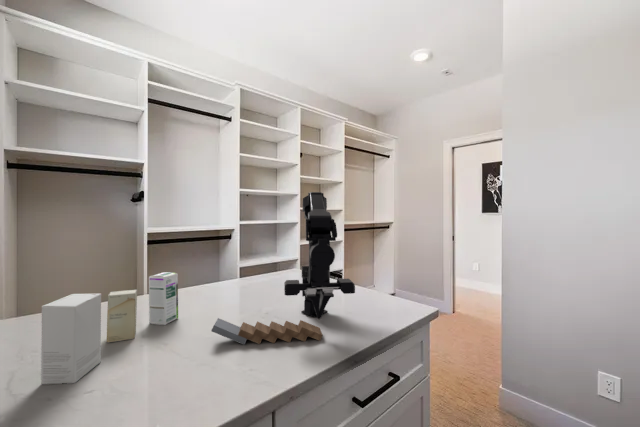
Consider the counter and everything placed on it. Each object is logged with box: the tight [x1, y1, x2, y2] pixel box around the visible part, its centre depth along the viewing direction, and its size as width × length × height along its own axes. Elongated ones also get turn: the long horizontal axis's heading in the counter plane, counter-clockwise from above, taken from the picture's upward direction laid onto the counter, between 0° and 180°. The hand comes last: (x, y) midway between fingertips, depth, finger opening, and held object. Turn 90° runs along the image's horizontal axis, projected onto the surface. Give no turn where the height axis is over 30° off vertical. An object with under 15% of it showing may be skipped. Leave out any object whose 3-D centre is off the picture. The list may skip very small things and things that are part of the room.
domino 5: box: [297, 319, 323, 342], centre depth 78 cm, size 2×5×6 cm
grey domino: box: [211, 317, 248, 345], centre depth 75 cm, size 2×5×9 cm
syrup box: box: [148, 271, 179, 326], centre depth 89 cm, size 6×6×14 cm
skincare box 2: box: [106, 289, 138, 343], centre depth 77 cm, size 6×4×12 cm
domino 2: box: [253, 321, 278, 344], centre depth 76 cm, size 2×5×6 cm
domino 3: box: [269, 320, 293, 343], centre depth 77 cm, size 2×5×6 cm
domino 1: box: [238, 321, 263, 345], centre depth 76 cm, size 2×5×6 cm
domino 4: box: [283, 320, 308, 342], centre depth 78 cm, size 2×5×6 cm
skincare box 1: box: [40, 292, 102, 385], centre depth 60 cm, size 8×7×16 cm
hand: (318, 318), depth 78 cm, fingers closed
